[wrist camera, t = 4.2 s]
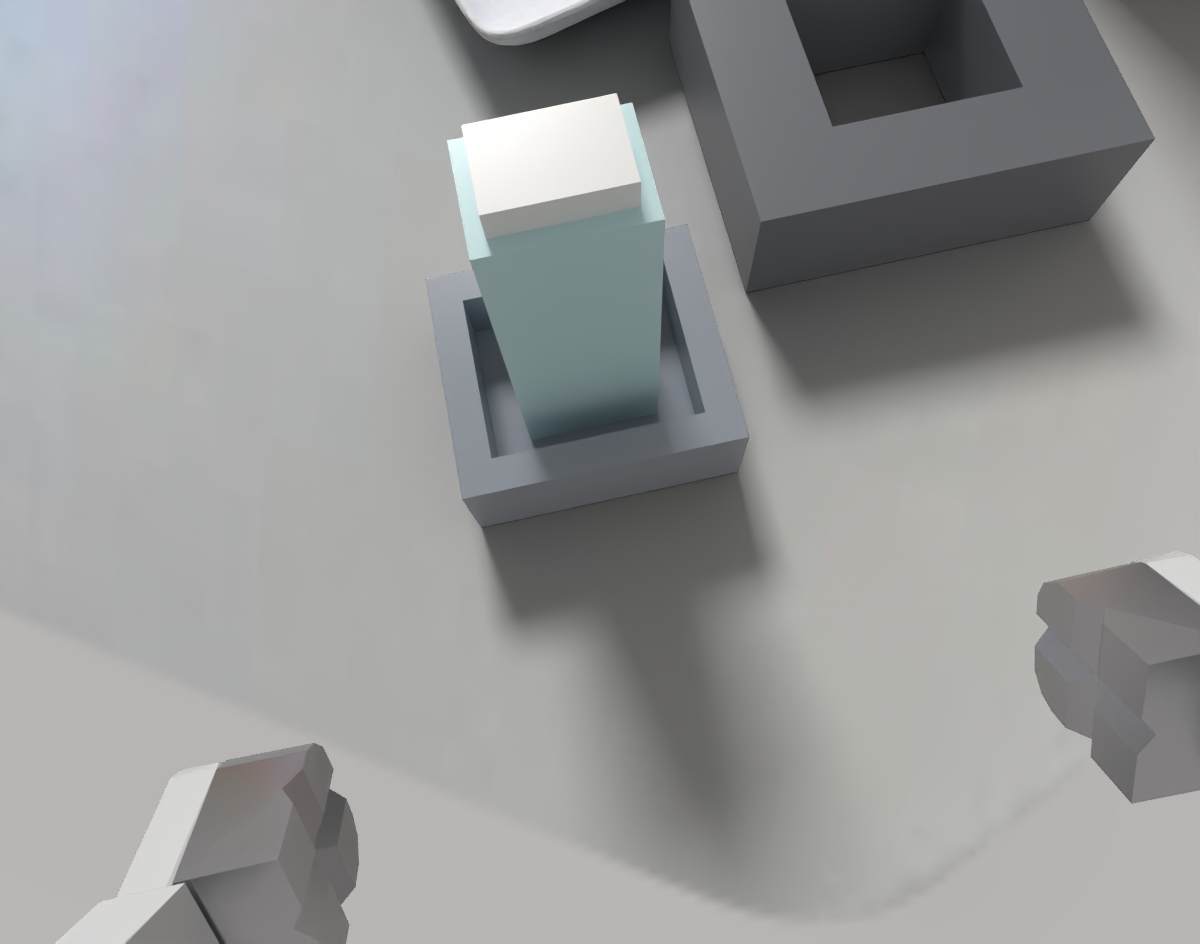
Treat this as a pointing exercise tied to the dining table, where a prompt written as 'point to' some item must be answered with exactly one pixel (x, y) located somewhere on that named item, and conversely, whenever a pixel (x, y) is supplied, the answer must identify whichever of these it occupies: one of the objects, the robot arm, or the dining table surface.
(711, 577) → the dining table surface
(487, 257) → the plug
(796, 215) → the block
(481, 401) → the grey storage bin
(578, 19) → the salad plate
